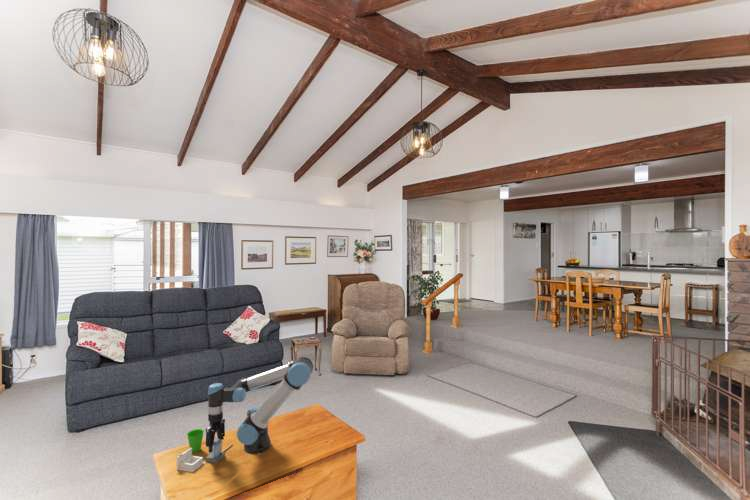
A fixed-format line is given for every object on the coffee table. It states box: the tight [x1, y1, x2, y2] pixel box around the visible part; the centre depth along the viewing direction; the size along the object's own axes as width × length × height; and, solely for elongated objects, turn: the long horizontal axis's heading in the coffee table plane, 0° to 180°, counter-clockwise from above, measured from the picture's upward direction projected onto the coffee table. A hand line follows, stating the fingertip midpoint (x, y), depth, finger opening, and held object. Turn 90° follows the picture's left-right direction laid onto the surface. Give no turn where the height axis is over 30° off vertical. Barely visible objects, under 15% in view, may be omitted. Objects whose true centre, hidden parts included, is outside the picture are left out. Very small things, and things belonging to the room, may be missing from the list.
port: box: [176, 447, 206, 473], centre depth 204 cm, size 10×10×8 cm
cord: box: [222, 444, 234, 454], centre depth 220 cm, size 1×12×1 cm, turn 165°
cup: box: [186, 428, 205, 454], centre depth 219 cm, size 9×9×11 cm
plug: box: [213, 437, 221, 458], centre depth 210 cm, size 4×4×10 cm
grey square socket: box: [205, 451, 226, 464], centre depth 210 cm, size 7×7×3 cm
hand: (215, 454), depth 210 cm, fingers open, 6 cm apart
